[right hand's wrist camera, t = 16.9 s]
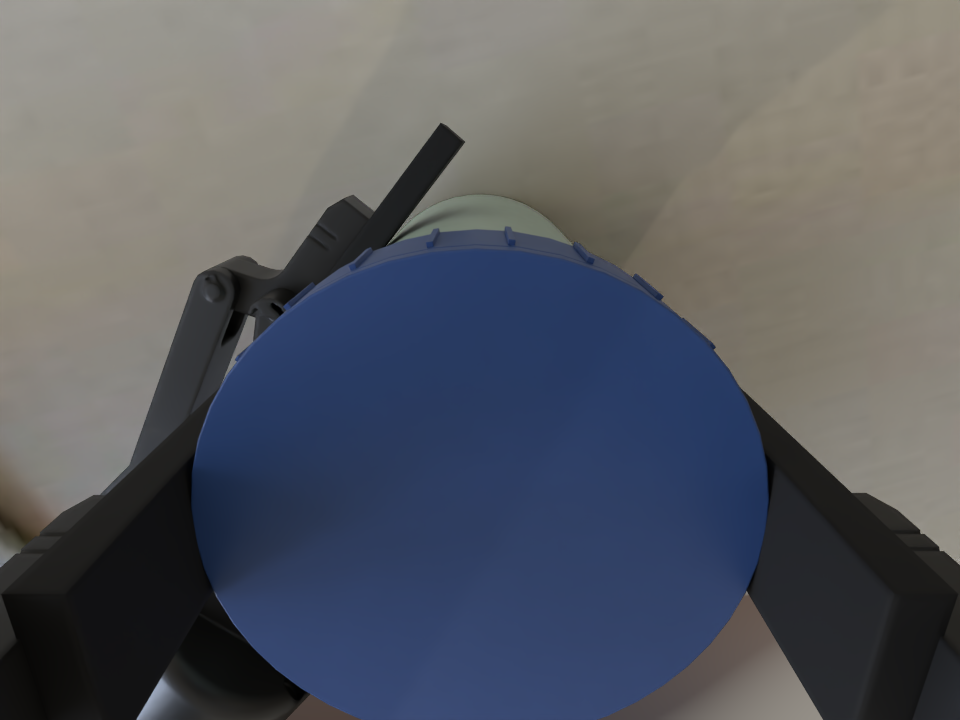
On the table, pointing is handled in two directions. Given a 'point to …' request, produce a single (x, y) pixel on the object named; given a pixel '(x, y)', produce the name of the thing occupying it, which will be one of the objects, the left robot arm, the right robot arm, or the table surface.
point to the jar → (480, 218)
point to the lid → (479, 485)
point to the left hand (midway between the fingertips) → (575, 239)
